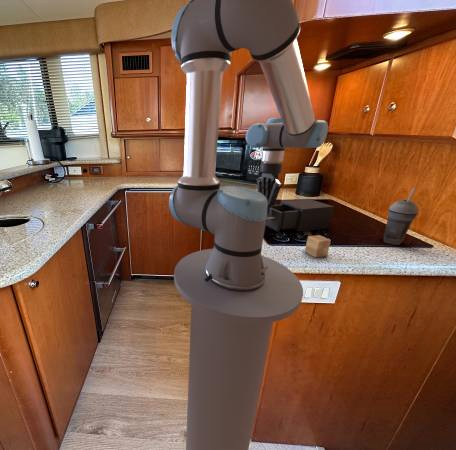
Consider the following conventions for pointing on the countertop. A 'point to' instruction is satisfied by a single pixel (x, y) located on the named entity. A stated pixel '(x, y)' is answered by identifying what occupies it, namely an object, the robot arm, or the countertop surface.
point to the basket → (283, 217)
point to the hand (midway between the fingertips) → (263, 220)
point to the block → (317, 246)
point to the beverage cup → (399, 220)
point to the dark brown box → (311, 214)
